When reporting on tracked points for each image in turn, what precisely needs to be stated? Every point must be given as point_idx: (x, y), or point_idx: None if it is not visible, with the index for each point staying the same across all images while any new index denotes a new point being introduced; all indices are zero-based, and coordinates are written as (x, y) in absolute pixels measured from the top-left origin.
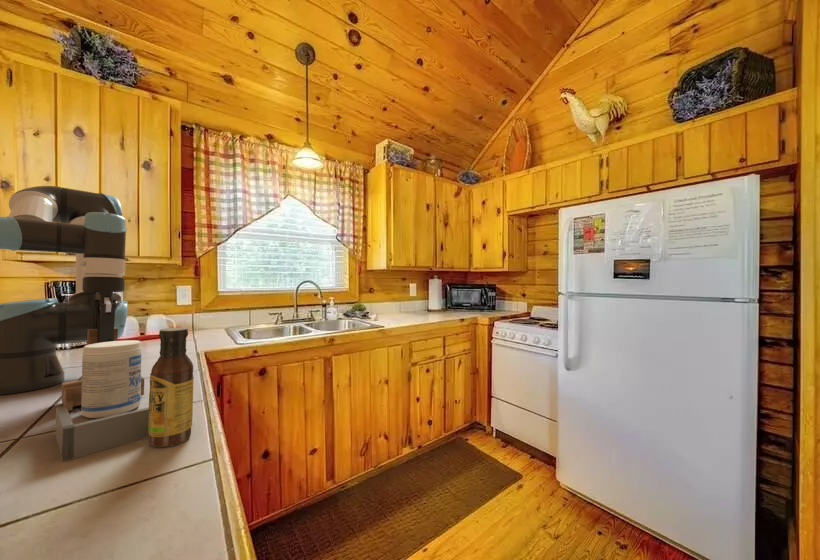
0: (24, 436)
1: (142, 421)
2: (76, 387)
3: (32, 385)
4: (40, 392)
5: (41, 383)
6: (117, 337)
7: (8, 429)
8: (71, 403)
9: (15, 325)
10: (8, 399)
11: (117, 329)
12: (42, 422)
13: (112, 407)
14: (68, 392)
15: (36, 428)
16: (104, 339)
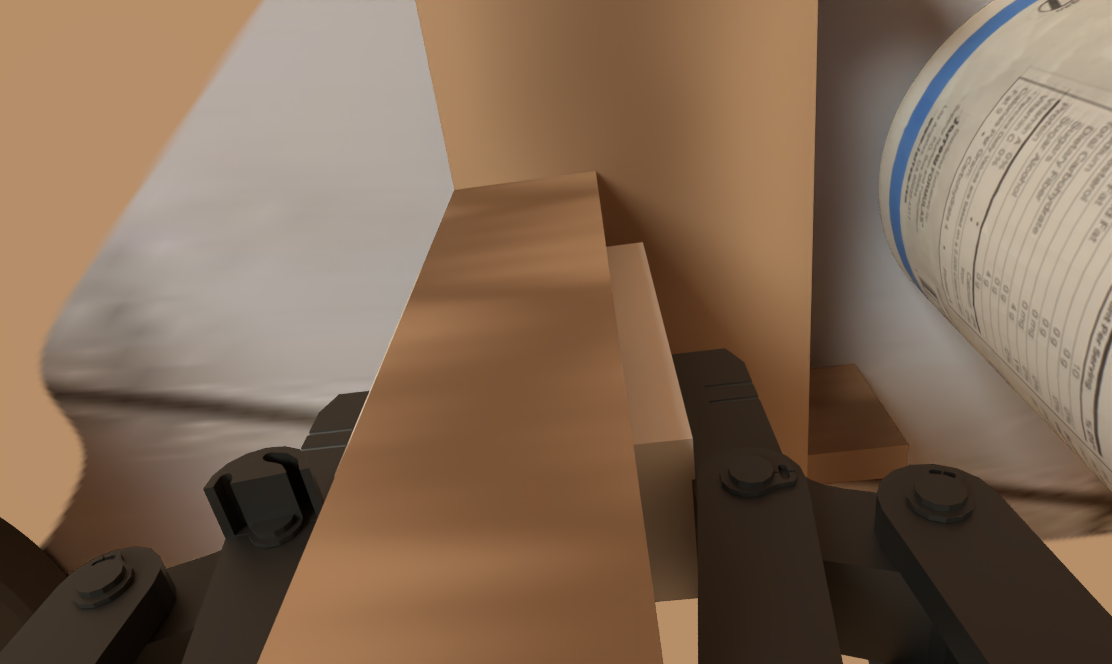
0: (1100, 491)
1: None
2: (799, 432)
3: (38, 592)
4: (127, 525)
5: (2, 562)
6: (629, 462)
7: None
8: (871, 393)
9: None
10: None
11: (654, 640)
12: (913, 456)
13: None
14: (903, 461)
15: (1008, 467)
16: (946, 648)
